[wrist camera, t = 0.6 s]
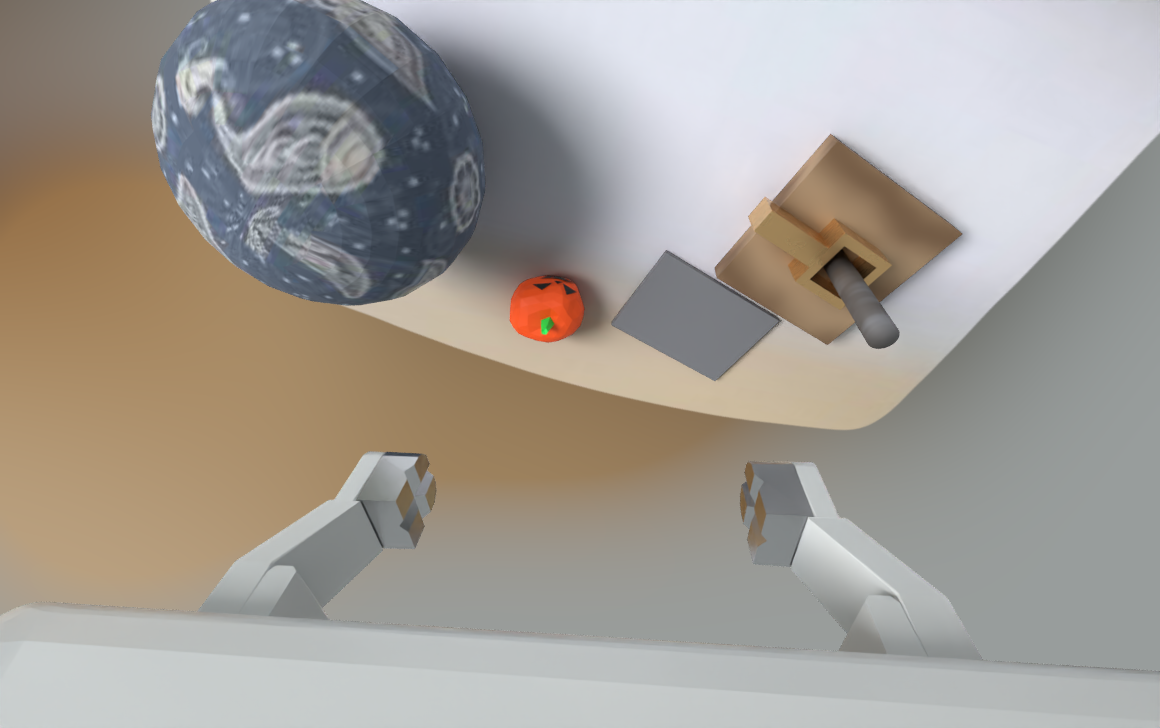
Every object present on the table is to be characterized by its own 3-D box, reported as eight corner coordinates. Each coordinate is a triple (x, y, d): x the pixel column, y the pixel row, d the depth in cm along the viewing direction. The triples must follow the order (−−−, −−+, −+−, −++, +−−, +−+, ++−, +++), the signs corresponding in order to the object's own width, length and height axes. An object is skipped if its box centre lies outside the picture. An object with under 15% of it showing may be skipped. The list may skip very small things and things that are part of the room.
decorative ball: (303, -90, 32) (-8, -147, 17) (554, 85, 37) (485, 162, 22) (270, 164, 44) (69, 263, 29) (463, 271, 49) (379, 404, 34)
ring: (779, 179, 38) (787, 193, 36) (878, 248, 41) (892, 265, 38) (735, 231, 41) (740, 246, 39) (830, 292, 44) (840, 310, 41)
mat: (666, 250, 45) (666, 252, 45) (778, 317, 48) (779, 321, 48) (611, 321, 51) (611, 324, 51) (714, 377, 54) (714, 381, 54)
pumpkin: (502, 279, 49) (486, 313, 45) (572, 257, 47) (563, 290, 42) (532, 332, 53) (520, 369, 49) (597, 314, 51) (591, 351, 46)
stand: (830, 134, 37) (902, 198, 27) (951, 224, 41) (1058, 313, 30) (714, 267, 46) (733, 357, 35) (822, 333, 49) (869, 433, 38)
